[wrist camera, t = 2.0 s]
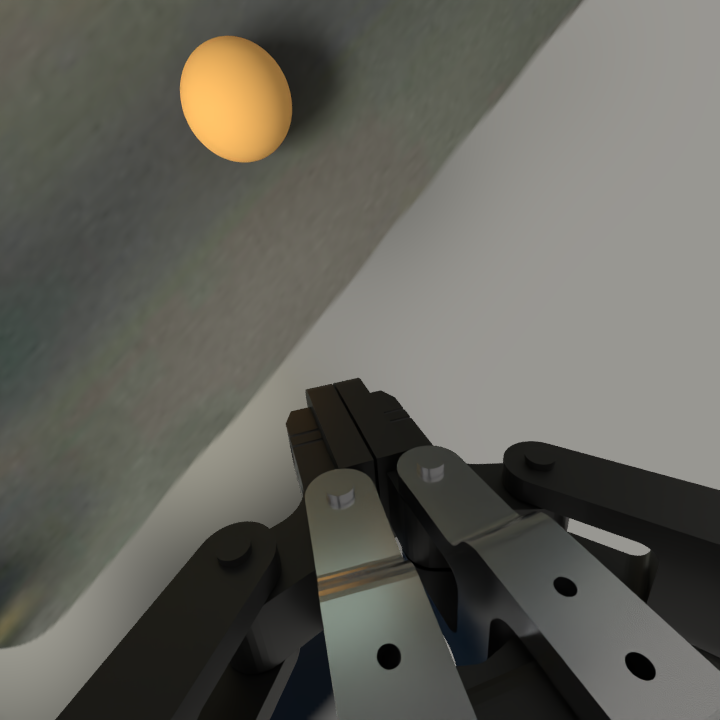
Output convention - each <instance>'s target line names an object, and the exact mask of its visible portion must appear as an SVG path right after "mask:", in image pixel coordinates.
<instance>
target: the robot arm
mask: <svg viewBox="0 0 720 720" xmlns="http://www.w3.org/2000/svg"><path fill="white" fill-rule="evenodd" d="M306 399H307V405H308V408H304V409H300V410H296V411H291V413H290V415H289V417H288V420H287V422H286V427H287V432H288V437H289V442H290V448H291V453H292V458H293V463H294V468H295V472H296V476H297V480H298V483H299V488H300V491H301V495H302V501H301V503H300V505H299V506H298V508H297V509H296V510H295V511H294V513H293V514H291V515H290V516H289V517H288V518H287V519H285V520H284V521H283V522H281V523H279V524H277V525H276V526H274V527H272V528H270V529H269V528H268V527H266V526H265V525H263V524H260V523H257V522H239V523H235V524H231V525H229V526H226V527H224V528H222V529H220V530H219V531H217V532H215V533H214V534H213V535H211V536H210V537H209V538H208V539H207V540H206V541H205V542H204V543H203V544H202V545H201V546H200V548H199V549H198V550H197V551H196V552H195V554H194V555H193V556H192V557H191V558H190V560H189V561H188V562H187V563H186V564H185V566H184V567H183V568H182V569H181V570H180V572H179V573H178V574H177V575H176V576H175V577H174V579H173V580H172V581H171V582H170V583H169V585H168V586H167V587H166V588H165V589H164V591H163V592H162V593H161V594H160V595H159V596H158V598H157V599H156V600H155V601H154V602H153V604H152V605H151V606H150V607H149V609H148V610H147V611H146V612H145V613H144V614H143V616H142V617H141V618H140V619H139V620H138V622H137V623H136V624H135V625H134V626H133V628H132V629H131V630H130V631H129V632H128V634H127V635H126V636H125V637H124V638H123V640H122V641H121V642H120V643H119V644H118V645H117V647H116V648H115V649H114V650H113V651H112V653H111V654H110V655H109V656H108V657H107V659H106V660H105V661H104V662H103V663H102V665H101V666H100V667H99V668H98V669H97V671H96V672H95V673H94V674H93V675H92V677H91V678H90V679H89V680H88V681H87V683H86V684H85V685H84V686H83V687H82V688H81V690H80V691H79V692H78V693H77V694H76V696H75V697H74V698H73V699H72V701H71V702H70V703H69V704H68V705H67V706H66V708H65V709H64V710H63V711H62V712H61V713H60V715H59V716H58V717H57V718H56V719H55V720H270V717H271V715H272V713H273V711H274V709H275V706H276V705H277V702H278V700H279V698H280V696H281V694H282V692H283V689H284V687H285V685H286V683H287V681H288V679H289V677H290V674H291V672H292V670H293V668H294V666H295V664H296V661H297V658H298V655H299V651H300V647H302V646H303V645H304V644H305V643H307V642H308V641H309V640H311V639H312V638H313V637H314V636H316V635H317V634H318V633H319V632H321V631H322V630H323V629H324V633H325V639H326V645H327V652H328V659H329V666H330V673H331V679H332V685H333V692H334V698H335V705H336V711H337V718H338V720H720V490H717V489H713V488H709V487H705V486H702V485H698V484H695V483H691V482H687V481H683V480H680V479H676V478H672V477H669V476H665V475H661V474H657V473H654V472H650V471H646V470H643V469H639V468H636V467H632V466H628V465H624V464H621V463H617V462H614V461H610V460H606V459H602V458H599V457H595V456H591V455H588V454H584V453H580V452H576V451H572V450H569V449H566V448H562V447H558V446H554V445H551V444H547V443H542V442H534V441H528V442H521V443H517V444H514V445H512V446H510V447H509V448H508V449H507V450H506V451H505V453H504V458H503V463H499V464H466V463H465V462H464V461H463V460H462V459H461V458H460V457H459V456H458V455H457V454H456V453H454V452H453V451H451V450H449V449H446V448H443V447H439V446H433V445H432V443H431V442H430V441H429V440H428V439H427V437H426V436H425V435H424V433H423V432H422V431H421V430H420V428H419V427H418V426H417V425H416V423H415V422H414V421H413V420H412V418H410V416H409V415H408V414H407V412H406V411H405V410H403V407H402V406H401V405H400V403H399V402H398V401H397V400H396V398H395V397H393V396H391V395H389V394H387V393H385V392H383V391H376V392H372V393H370V392H369V391H368V389H367V388H366V387H365V385H364V384H363V382H362V381H361V379H360V378H356V379H351V380H346V381H342V382H338V383H334V384H333V385H332V384H329V385H325V386H320V387H316V388H311V389H307V390H306ZM569 518H571V519H574V520H577V521H580V522H582V523H585V524H588V525H591V526H594V527H596V528H599V529H602V530H605V531H608V532H611V533H614V534H616V535H619V536H623V537H625V538H628V539H631V540H633V541H637V542H639V543H641V544H643V545H645V546H647V547H648V548H650V549H651V550H650V552H649V553H647V554H645V555H642V556H634V555H629V554H627V553H624V552H621V551H618V550H616V549H613V548H610V547H608V546H605V545H602V544H600V543H597V542H594V541H591V540H589V539H586V538H583V537H580V536H578V535H575V534H573V533H569V532H567V528H568V521H569ZM395 537H397V538H398V540H399V542H400V544H401V546H402V556H401V553H400V550H399V548H398V545H397V543H396V540H395ZM443 636H444V637H443ZM444 638H445V639H446V641H447V643H448V645H449V647H450V649H451V652H452V654H453V657H454V660H455V664H456V666H455V664H454V661H453V659H452V656H451V654H450V652H449V649H448V647H447V644H446V642H445V639H444Z"/></svg>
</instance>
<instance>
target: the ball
mask: <svg viewBox="0 0 720 720" xmlns="http://www.w3.org/2000/svg"><path fill="white" fill-rule="evenodd" d="M180 96H181V103H182V108H183V112H184V115H185V117H186V120H187V122H188V124H189V126H190V128H191V129H192V131H193V132H194V134H195V135H196V137H197V138H198V139H199V140H200V141H201V142H202V144H204V145H205V146H206V147H207V148H208V149H209V150H211V151H212V152H214V153H215V154H217V155H219V156H220V157H223V158H225V159H228V160H231V161H235V162H253V161H257V160H260V159H263V158H265V157H267V156H269V155H270V154H271V153H273V152H274V151H275V150H276V149H277V148H278V147H279V146H280V144H281V143H282V142H283V140H284V138H285V137H286V135H287V132H288V130H289V127H290V123H291V117H292V99H291V94H290V90H289V86H288V83H287V81H286V78H285V76H284V74H283V72H282V70H281V68H280V67H279V65H278V64H277V63H276V61H275V60H274V59H273V58H272V57H271V56H270V54H268V53H267V52H266V51H265V50H264V49H263V48H261V47H260V46H258V45H257V44H255V43H253V42H251V41H249V40H247V39H244V38H241V37H236V36H220V37H216V38H212V39H210V40H208V41H206V42H204V43H203V44H201V45H200V46H198V47H197V48H196V49H195V50H194V51H193V52H192V54H191V55H190V57H189V58H188V60H187V62H186V64H185V66H184V69H183V72H182V76H181V83H180Z"/></svg>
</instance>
